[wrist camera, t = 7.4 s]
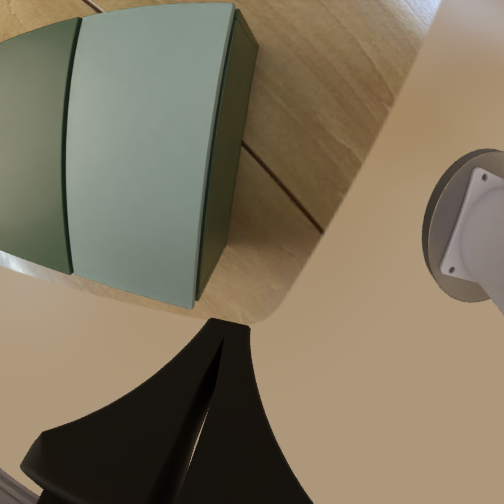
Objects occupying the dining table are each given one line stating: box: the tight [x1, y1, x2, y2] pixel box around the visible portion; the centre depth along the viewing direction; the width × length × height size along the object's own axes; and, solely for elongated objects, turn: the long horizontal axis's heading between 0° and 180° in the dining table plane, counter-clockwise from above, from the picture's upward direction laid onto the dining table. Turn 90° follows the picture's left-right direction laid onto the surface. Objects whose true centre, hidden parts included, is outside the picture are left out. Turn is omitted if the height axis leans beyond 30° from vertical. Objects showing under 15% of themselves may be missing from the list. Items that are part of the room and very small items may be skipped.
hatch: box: [66, 3, 235, 310], centre depth 11 cm, size 7×13×1 cm, turn 171°
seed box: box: [0, 9, 259, 301], centre depth 14 cm, size 14×13×7 cm
